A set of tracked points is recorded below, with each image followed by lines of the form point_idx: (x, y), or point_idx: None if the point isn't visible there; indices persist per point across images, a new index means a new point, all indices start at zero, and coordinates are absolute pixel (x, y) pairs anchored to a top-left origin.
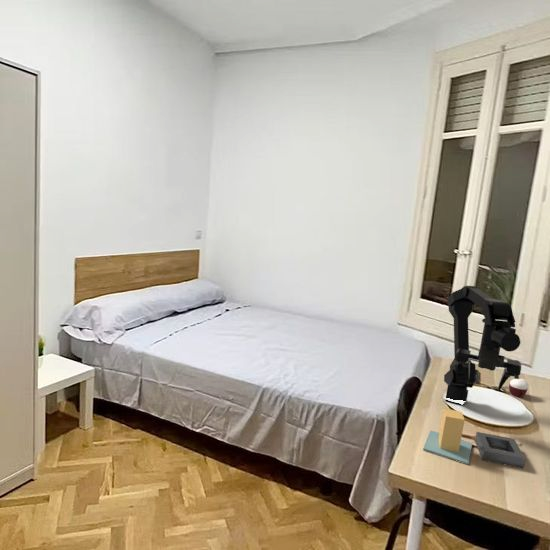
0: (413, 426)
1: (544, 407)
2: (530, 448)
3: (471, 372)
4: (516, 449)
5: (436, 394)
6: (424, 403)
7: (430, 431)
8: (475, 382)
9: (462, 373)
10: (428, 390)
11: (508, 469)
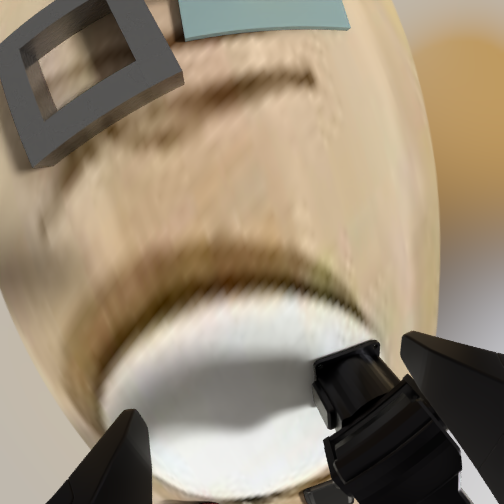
0: (398, 39)
1: None
2: (15, 229)
3: (372, 480)
4: (15, 80)
5: None
6: (427, 255)
7: (346, 19)
8: (310, 489)
9: (413, 440)
10: None
11: None
